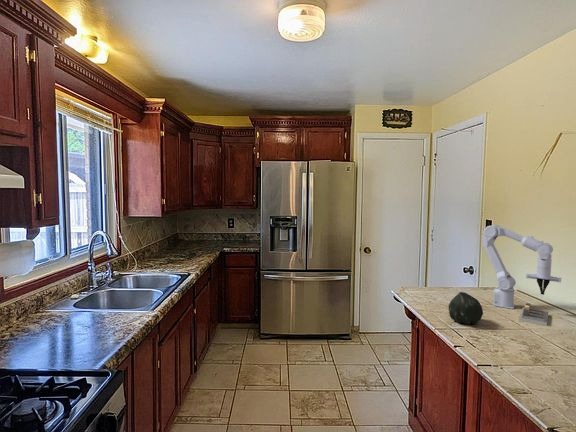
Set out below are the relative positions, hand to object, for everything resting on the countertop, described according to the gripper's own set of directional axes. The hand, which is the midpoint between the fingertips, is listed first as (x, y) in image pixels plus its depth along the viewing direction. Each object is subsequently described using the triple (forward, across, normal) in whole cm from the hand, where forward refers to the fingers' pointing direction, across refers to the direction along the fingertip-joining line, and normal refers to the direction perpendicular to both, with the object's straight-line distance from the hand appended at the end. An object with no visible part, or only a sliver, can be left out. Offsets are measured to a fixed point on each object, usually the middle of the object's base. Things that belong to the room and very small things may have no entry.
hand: (542, 294), depth 188 cm
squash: (+10, -28, -38) cm, 48 cm away
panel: (+10, -2, -10) cm, 15 cm away
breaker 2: (+8, -5, -16) cm, 19 cm away
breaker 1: (+8, -6, -5) cm, 11 cm away
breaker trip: (+8, -6, -11) cm, 14 cm away
